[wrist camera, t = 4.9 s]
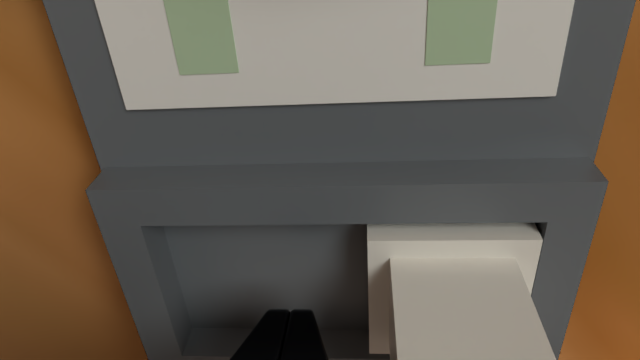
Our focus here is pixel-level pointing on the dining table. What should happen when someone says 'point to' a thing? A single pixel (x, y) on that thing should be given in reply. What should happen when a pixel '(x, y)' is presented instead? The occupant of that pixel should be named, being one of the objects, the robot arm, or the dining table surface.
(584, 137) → the switch bank
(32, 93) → the dining table surface
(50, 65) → the dining table surface
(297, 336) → the robot arm
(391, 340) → the tab
